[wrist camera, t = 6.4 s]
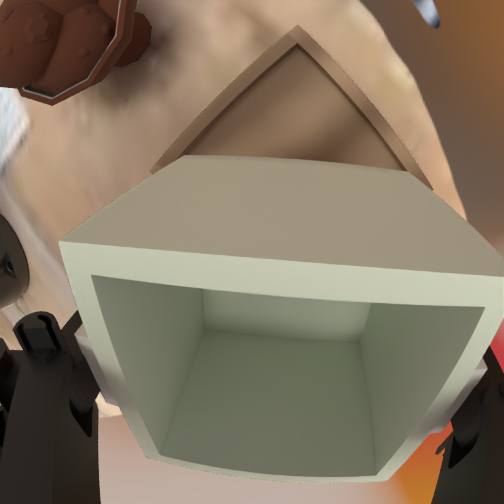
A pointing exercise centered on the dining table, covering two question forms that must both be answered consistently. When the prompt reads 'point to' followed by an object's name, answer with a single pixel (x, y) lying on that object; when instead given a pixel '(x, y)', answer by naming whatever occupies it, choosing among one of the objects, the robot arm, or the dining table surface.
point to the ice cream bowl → (67, 44)
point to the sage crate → (283, 314)
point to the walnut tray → (295, 114)
